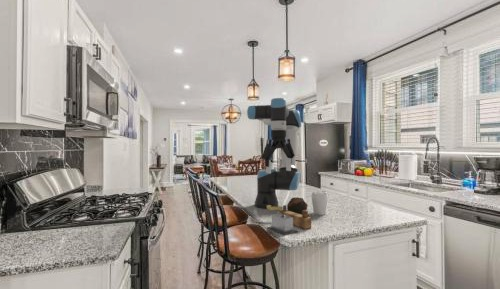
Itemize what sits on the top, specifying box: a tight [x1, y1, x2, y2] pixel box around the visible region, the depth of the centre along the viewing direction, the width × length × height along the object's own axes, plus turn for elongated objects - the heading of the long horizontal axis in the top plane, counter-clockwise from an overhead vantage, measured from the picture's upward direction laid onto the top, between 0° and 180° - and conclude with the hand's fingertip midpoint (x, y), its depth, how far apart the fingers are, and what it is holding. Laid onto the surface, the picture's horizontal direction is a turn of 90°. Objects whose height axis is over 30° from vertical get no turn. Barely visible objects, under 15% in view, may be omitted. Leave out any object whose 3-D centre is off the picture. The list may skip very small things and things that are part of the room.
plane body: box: [278, 204, 312, 230], centre depth 130 cm, size 18×4×8 cm, turn 35°
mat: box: [266, 225, 298, 236], centre depth 121 cm, size 12×8×1 cm, turn 35°
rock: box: [286, 197, 308, 215], centre depth 145 cm, size 14×11×10 cm
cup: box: [311, 190, 329, 216], centre depth 150 cm, size 9×9×12 cm
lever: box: [266, 205, 283, 211], centre depth 137 cm, size 2×8×2 cm, turn 76°
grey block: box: [271, 212, 294, 233], centre depth 121 cm, size 9×5×7 cm, turn 35°
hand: (278, 172), depth 132 cm, fingers open, 13 cm apart
